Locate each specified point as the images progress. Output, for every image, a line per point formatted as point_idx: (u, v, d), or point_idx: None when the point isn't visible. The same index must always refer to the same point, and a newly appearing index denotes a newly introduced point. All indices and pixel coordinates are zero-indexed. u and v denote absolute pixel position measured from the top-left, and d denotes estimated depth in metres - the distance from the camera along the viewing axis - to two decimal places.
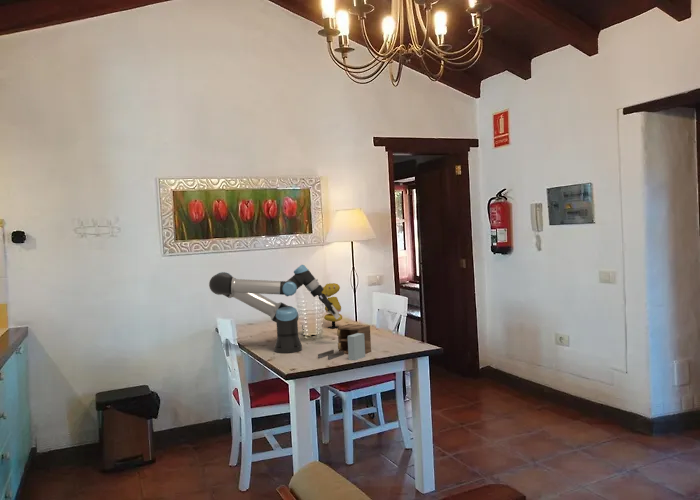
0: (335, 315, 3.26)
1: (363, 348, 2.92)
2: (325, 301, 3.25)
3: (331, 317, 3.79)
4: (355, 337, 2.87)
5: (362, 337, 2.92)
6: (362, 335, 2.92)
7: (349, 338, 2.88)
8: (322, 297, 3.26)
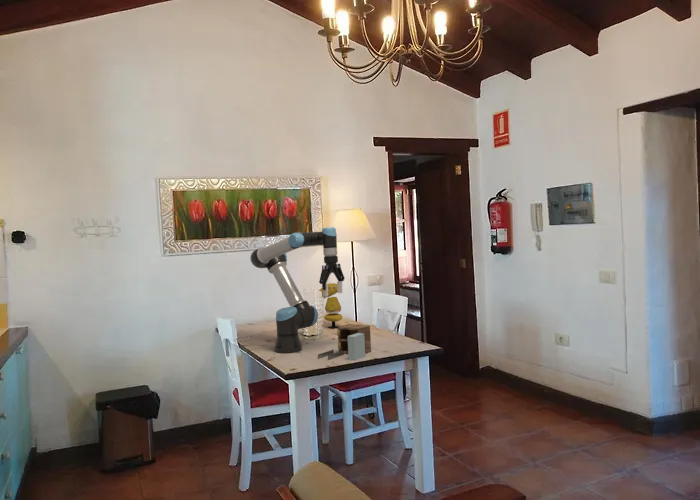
0: (324, 291, 3.07)
1: (363, 348, 2.92)
2: (323, 273, 3.05)
3: (331, 317, 3.79)
4: (355, 337, 2.87)
5: (363, 337, 2.92)
6: (362, 335, 2.92)
7: (349, 338, 2.88)
8: (324, 268, 3.06)
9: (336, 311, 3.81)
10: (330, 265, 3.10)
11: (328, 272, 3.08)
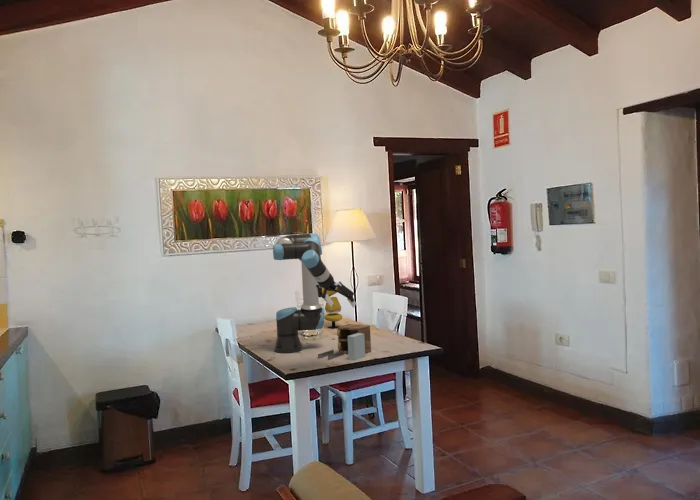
0: None
1: (363, 348, 2.92)
2: None
3: (331, 317, 3.79)
4: (355, 337, 2.87)
5: (362, 337, 2.92)
6: (362, 335, 2.92)
7: (349, 338, 2.88)
8: None
9: (336, 311, 3.81)
10: None
11: (324, 290, 2.77)
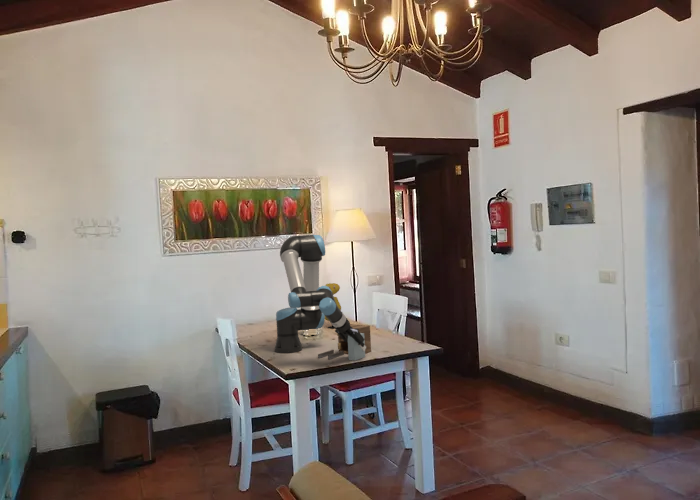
0: None
1: None
2: None
3: None
4: None
5: None
6: (362, 335, 2.92)
7: (349, 338, 2.88)
8: None
9: None
10: None
11: None
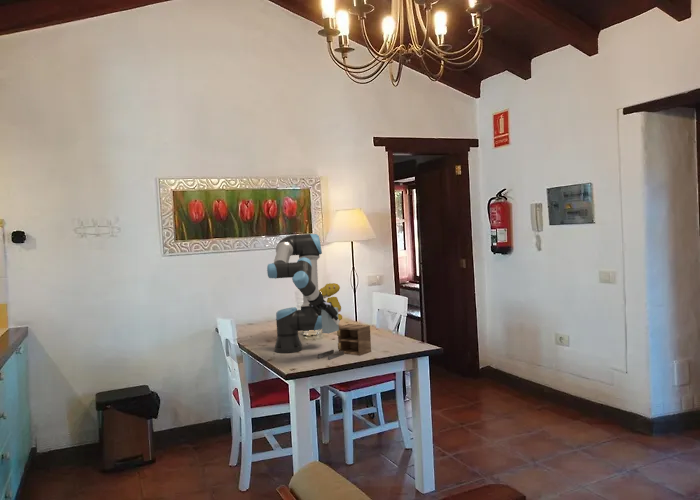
0: None
1: None
2: None
3: None
4: None
5: None
6: (336, 309, 2.99)
7: (323, 312, 2.94)
8: None
9: None
10: None
11: None
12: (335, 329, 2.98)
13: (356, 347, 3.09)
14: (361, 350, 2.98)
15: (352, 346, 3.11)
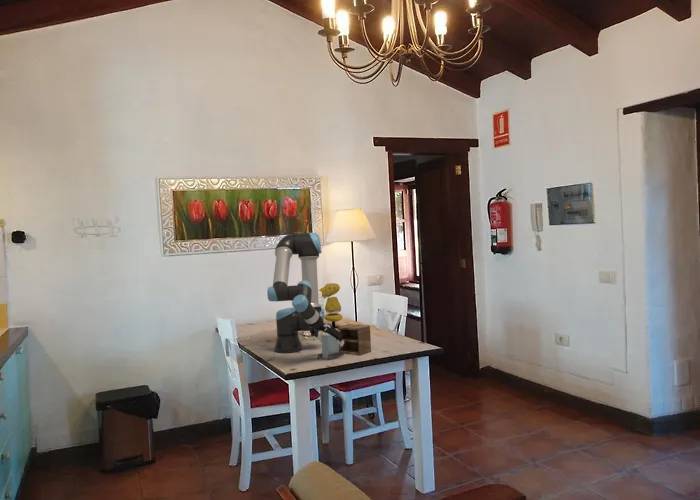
0: None
1: (337, 346, 2.99)
2: None
3: (331, 317, 3.79)
4: (329, 336, 2.94)
5: None
6: None
7: (323, 337, 2.95)
8: None
9: (336, 311, 3.81)
10: None
11: (315, 330, 2.95)
12: None
13: (356, 347, 3.09)
14: (361, 350, 2.98)
15: (352, 346, 3.11)
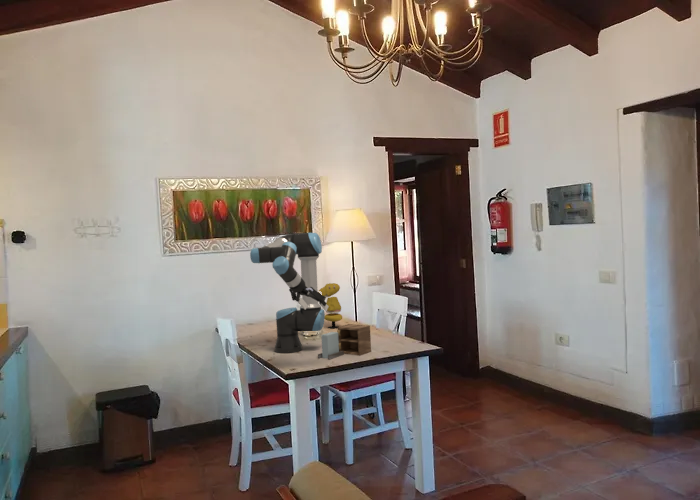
0: None
1: (337, 346, 2.99)
2: None
3: (331, 317, 3.79)
4: (328, 336, 2.94)
5: (336, 335, 2.99)
6: (336, 334, 2.99)
7: (323, 337, 2.95)
8: None
9: (336, 311, 3.81)
10: None
11: (297, 294, 2.84)
12: None
13: (356, 347, 3.09)
14: (361, 350, 2.98)
15: (352, 346, 3.11)
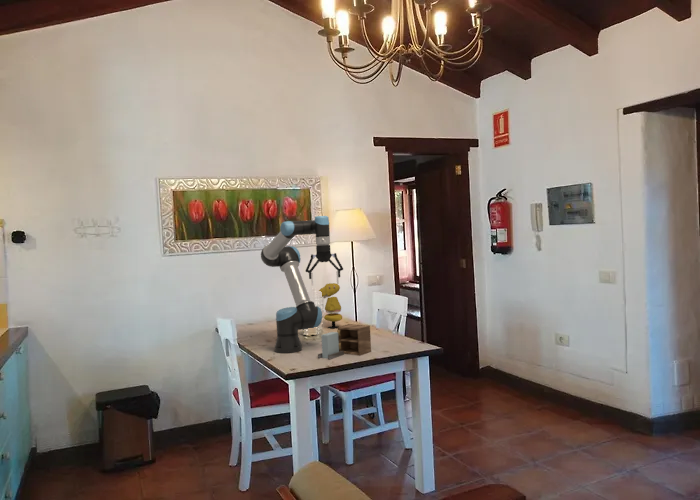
0: (311, 280, 3.07)
1: (337, 346, 2.99)
2: None
3: (331, 317, 3.79)
4: (329, 336, 2.94)
5: (336, 335, 2.99)
6: (336, 334, 2.99)
7: (323, 337, 2.95)
8: None
9: (336, 311, 3.81)
10: (319, 254, 3.05)
11: (316, 261, 3.05)
12: None
13: (356, 347, 3.09)
14: (361, 350, 2.98)
15: (352, 346, 3.11)
